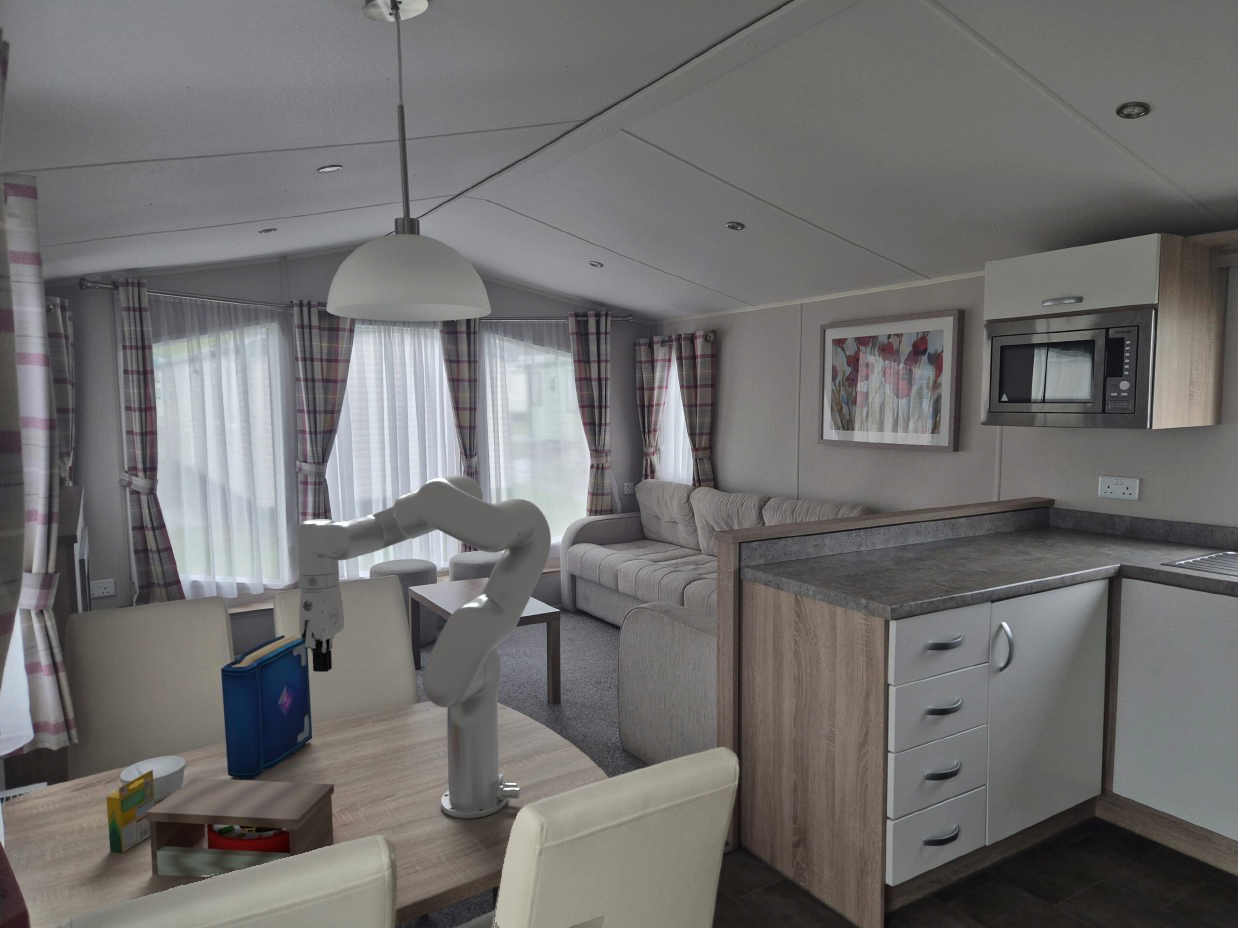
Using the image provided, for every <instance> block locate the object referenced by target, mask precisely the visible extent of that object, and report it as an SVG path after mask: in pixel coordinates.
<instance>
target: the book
mask: <svg viewBox="0 0 1238 928" xmlns="http://www.w3.org/2000/svg"><path fill="white" fill-rule="evenodd" d="M305 642H306V640H305V641H304V640H302V639H301V637H299V636H296V635H290V636H286V637H285V635H284V634H283V635H280V636H278V637H275V638H272V639H269V640H268V641H265V642H262V643H261V644H258V645H257V646H255V647H253V648H252V649H249V650H247V651H246V652H244V653H241V655H240V656H239V657H238V658H237V659H236V660H234V661H231V662H229V663H227V664H226V665H223V667H222V668H221V669H220V673H221V674H220V675H221V688H222V689H221V690H222V704H223V718H224V719H223V721H224V731H225V732H224V733H225V734H224V735H225V737H224V738H225V746H226V747H225V750H226V752H225V753H226V765H227V776H230V777H232V778H235V779H237V780H253V779H254V778H256V777H257V776H259V775H261V774H262V773H263V771H266V770H269V769H272V768H274V767H276V766H277V765H279V764H280V763H281V762H282V761H284V760H285V759H287V758H288V757H290V756H291V755H293V754H294V753H296V751H298V750H299V749H300V748H302V747H303V746H304V745H305V744H306V743H308V742H310V740H312V739H313V730H312V729H313V726H312V709H311V689H310V673H309V672H310V670H309V669H310V668H309V652H308V649H309V648H305Z"/></svg>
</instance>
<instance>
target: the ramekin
mask: <svg viewBox="0 0 1238 928" xmlns="http://www.w3.org/2000/svg"><path fill="white" fill-rule="evenodd" d="M186 767H187V761H186V760H185V758H183V757H181V756H177V755H163V756H157V757H152V758H148V759H144V760H141V761H139V762H136V763H134V764H131V765H130V766H127V768H125V769H123V771H122V772H121V773H119V774H120V775H119V781H120V784H121V786H123V785H125V784H127V783H129V782H131V781H132V780H134V779H136V778H138V777H140V776H142V775H143V774H145V773H147V772H149V771H151V770H153V786H154V801H155V803H157V802H161V801H163V800H164V799H166V798H167V797H168V796H170V795H171V794H173V793H174V792H176V791H177V790H178V789H180V788H181V787H183V783H184V777H185V776H184V775H185V769H186Z"/></svg>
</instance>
